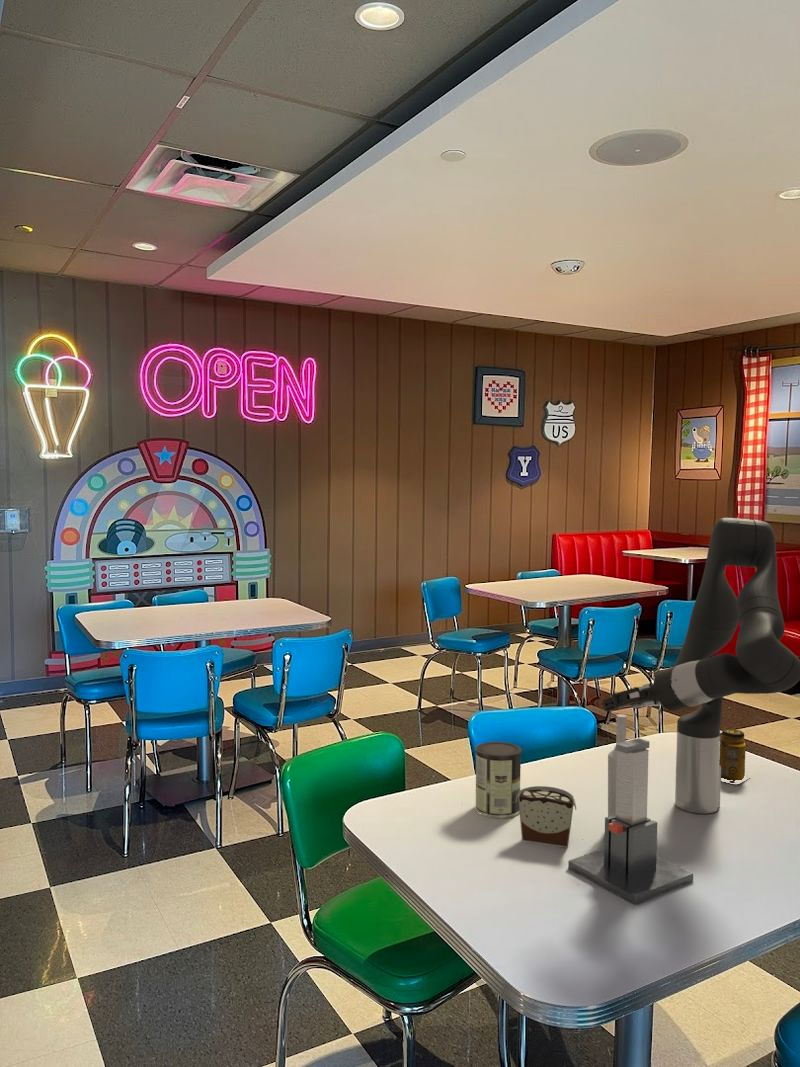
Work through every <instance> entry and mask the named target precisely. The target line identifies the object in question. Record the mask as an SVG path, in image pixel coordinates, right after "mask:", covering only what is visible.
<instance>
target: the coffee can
mask: <svg viewBox="0 0 800 1067" xmlns="http://www.w3.org/2000/svg"><path fill="white" fill-rule="evenodd" d="M521 754H522V748H521V747H520V746H519V745H517V744H514V743H510V742H505V741H488V742H482V743H479V744H477V745H476V746H475V806H476V809H475V811H476V810H477V811H478V812H479V813H481V814H483V815H482V816H484V815H485V816H484V817H487V816H489V817H488V818H490V817H493V818H492V819H509V818H513V817H516V816H518V815H520V812H519V801H517V802H516V797H517V795H518V792H519V791H520V790H521V768H522V767H521V766H522V764H521V762H522V761H521V760H522V759H521V757H522V755H521ZM477 811H476V812H477ZM478 812H477V813H478ZM479 813H478V814H479ZM481 814H480V815H481Z"/></svg>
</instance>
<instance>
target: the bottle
mask: <svg viewBox="0 0 800 1067" xmlns="http://www.w3.org/2000/svg"><path fill="white" fill-rule="evenodd" d="M627 718H628V717H627V715H626V714H620V713H619V714H617V715H616V720H615V722H616V733H615V734H616V736H615V737H616V738H615V740H616V741H615V746H614V748H613V749H612V750H611V751H609V752H608V754H607V817H608V816H612V815H615V814H616V774H617V750H616V744H617V743H621V742H625V741H627V722H628V721H627Z"/></svg>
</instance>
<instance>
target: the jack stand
mask: <svg viewBox="0 0 800 1067" xmlns="http://www.w3.org/2000/svg"><path fill="white" fill-rule="evenodd" d="M615 818H616V814H615V815H612V816H608V815H607V816H606V817H604V845H603V846H604V847H603V848H602V849H598V850H596V851H593V852H590V853H586V854H584V855H581V856H579V857H575V858H572V859H569V860H568V866H567V867H568V870H571V871H572V872H574V873H576V874H578V875H579V876H581V877H583V878H585V879H587V880H589V881H590V882H592V883H594V884H596V885H598V886H600V887H602V888H604V889H605V890H606V891H609V892H611V893H613V895H614V894H615V895H616V896H618V897H620V898H622V899H623V900H625V901H627V902H629V903H630V904H633V905H634V906H636V905H638V904H641V903H643V902H645V901H649V900H650V899H653V898H655V897H657V896H660V894H661V895H663V894H665V893H667V892H670V891H672V889H673V890H675V889H678V888H680V887H682V886H684V884H685V885H687V884H689V882H690V883H692V882H694V872H692V871H689V870H688V869H685V868H684V867H681V866H679V865H677V864H675V863H673V862H671V861H668V860H666V859H664V858H662V857H661V856H658V852H657V850H658V821H655V820H651V819H650V818H648V817H647V823H644V824H641V825H638V826H634V827H631V828H630V826H629V825H627V824H624V823H622V822H620V821H618V820H616V819H615ZM691 881H692V882H691ZM686 883H687V884H686ZM681 885H682V886H681ZM679 886H680V887H679ZM669 890H670V891H669Z"/></svg>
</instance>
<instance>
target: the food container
mask: <svg viewBox="0 0 800 1067" xmlns="http://www.w3.org/2000/svg"><path fill="white" fill-rule="evenodd" d="M517 801H519V812H520V813H519V820H520V821H519V822H520V823H519V824H520V832H521V842H526V843H533V844H540V845H545V846H546V845H547V846H553V847H559V848H569V843H570V835H571V828H572V818H573V813H574V812H573V811H574V809H575V811H577V805H576V801H575V798H574V795H573V794H572V793H571V792H569V791H566V790H564V789H561V788H558V787H554V786H547V785H546V786H544V785H538V786H537V785H536V786H535V785H534V786H527V787H525V788H522V789H520V791H519V792H518V795H517V797H516V802H517Z"/></svg>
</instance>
